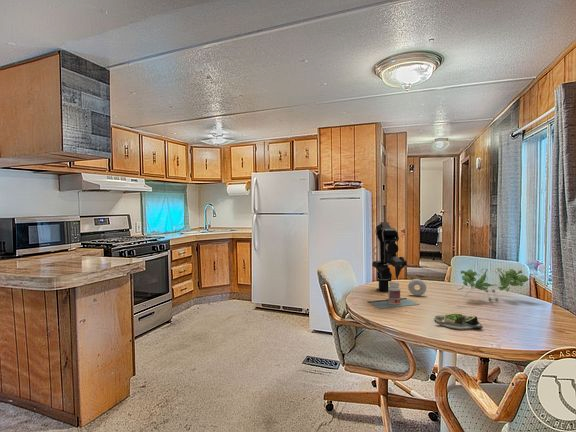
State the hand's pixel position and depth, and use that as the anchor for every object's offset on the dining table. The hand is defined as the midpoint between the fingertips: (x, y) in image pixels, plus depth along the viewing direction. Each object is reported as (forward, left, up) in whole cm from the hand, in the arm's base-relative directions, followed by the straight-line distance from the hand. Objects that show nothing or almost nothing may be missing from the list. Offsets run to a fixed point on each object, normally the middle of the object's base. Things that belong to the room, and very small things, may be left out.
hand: (389, 278), depth 182 cm
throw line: (-1, -1, -12) cm, 12 cm away
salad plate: (+41, +9, -13) cm, 44 cm away
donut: (-4, +21, -13) cm, 25 cm away
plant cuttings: (+14, +53, -13) cm, 56 cm away
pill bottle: (+6, -1, -12) cm, 14 cm away
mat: (+6, -1, -12) cm, 14 cm away
